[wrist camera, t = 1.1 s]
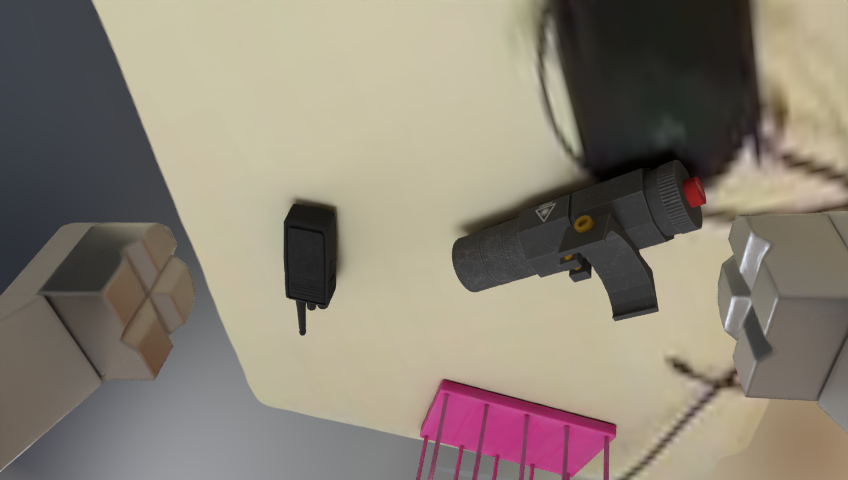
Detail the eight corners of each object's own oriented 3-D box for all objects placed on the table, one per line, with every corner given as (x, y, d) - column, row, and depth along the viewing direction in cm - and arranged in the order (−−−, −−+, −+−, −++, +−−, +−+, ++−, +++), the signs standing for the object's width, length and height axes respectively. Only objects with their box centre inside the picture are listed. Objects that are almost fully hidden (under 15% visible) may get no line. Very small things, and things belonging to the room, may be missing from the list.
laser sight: (445, 211, 63) (425, 293, 57) (673, 122, 50) (681, 216, 44) (499, 268, 68) (487, 349, 62) (719, 201, 55) (732, 294, 49)
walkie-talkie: (352, 224, 64) (348, 342, 78) (322, 188, 67) (324, 307, 81) (295, 246, 61) (302, 364, 75) (267, 206, 64) (279, 327, 79)
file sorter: (572, 466, 103) (567, 572, 93) (421, 426, 102) (399, 528, 92) (617, 424, 89) (616, 543, 79) (442, 378, 89) (420, 491, 79)
